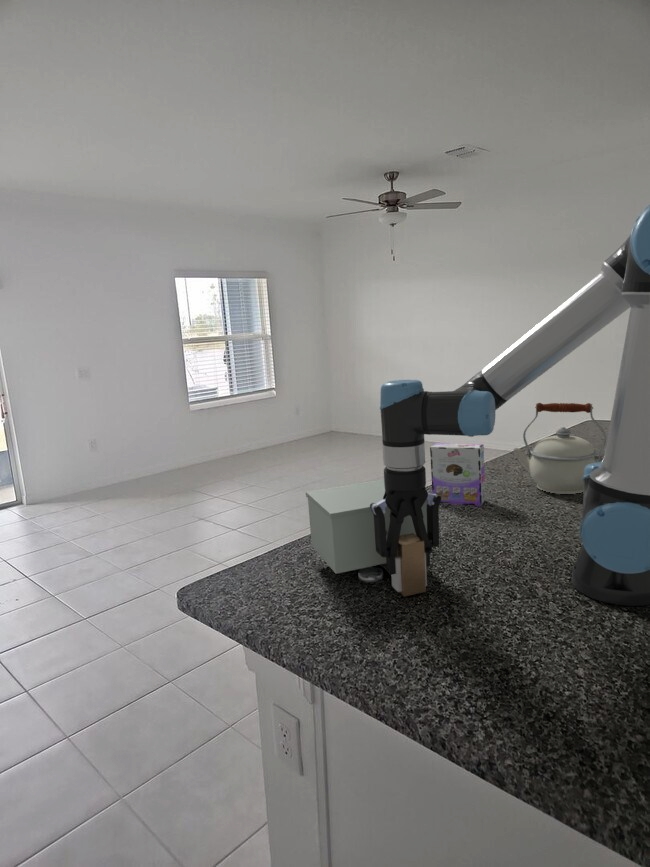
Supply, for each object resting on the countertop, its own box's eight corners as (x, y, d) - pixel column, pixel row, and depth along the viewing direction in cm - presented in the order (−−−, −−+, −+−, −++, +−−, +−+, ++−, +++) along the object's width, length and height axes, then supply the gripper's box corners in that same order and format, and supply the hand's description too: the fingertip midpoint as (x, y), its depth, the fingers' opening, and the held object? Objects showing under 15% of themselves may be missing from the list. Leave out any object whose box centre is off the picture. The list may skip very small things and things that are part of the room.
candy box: (486, 500, 154) (484, 443, 151) (481, 507, 149) (480, 447, 146) (437, 497, 161) (435, 441, 158) (431, 503, 156) (429, 446, 153)
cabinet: (433, 573, 112) (430, 497, 109) (337, 595, 106) (331, 515, 103) (396, 544, 128) (392, 477, 125) (311, 561, 122) (305, 491, 119)
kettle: (608, 482, 162) (610, 398, 158) (600, 501, 147) (602, 408, 143) (520, 476, 176) (520, 398, 171) (505, 492, 161) (504, 407, 156)
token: (387, 580, 111) (386, 574, 111) (364, 585, 110) (363, 579, 109) (377, 570, 116) (376, 565, 116) (354, 575, 114) (354, 570, 114)
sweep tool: (425, 591, 103) (424, 541, 101) (404, 596, 102) (401, 545, 100) (391, 561, 117) (389, 516, 116) (372, 565, 116) (369, 519, 114)
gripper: (437, 455, 106) (440, 569, 110) (351, 468, 101) (358, 586, 105) (458, 463, 99) (460, 584, 103) (367, 477, 94) (374, 604, 98)
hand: (409, 585), depth 104 cm, fingers closed on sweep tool, 4 cm apart
